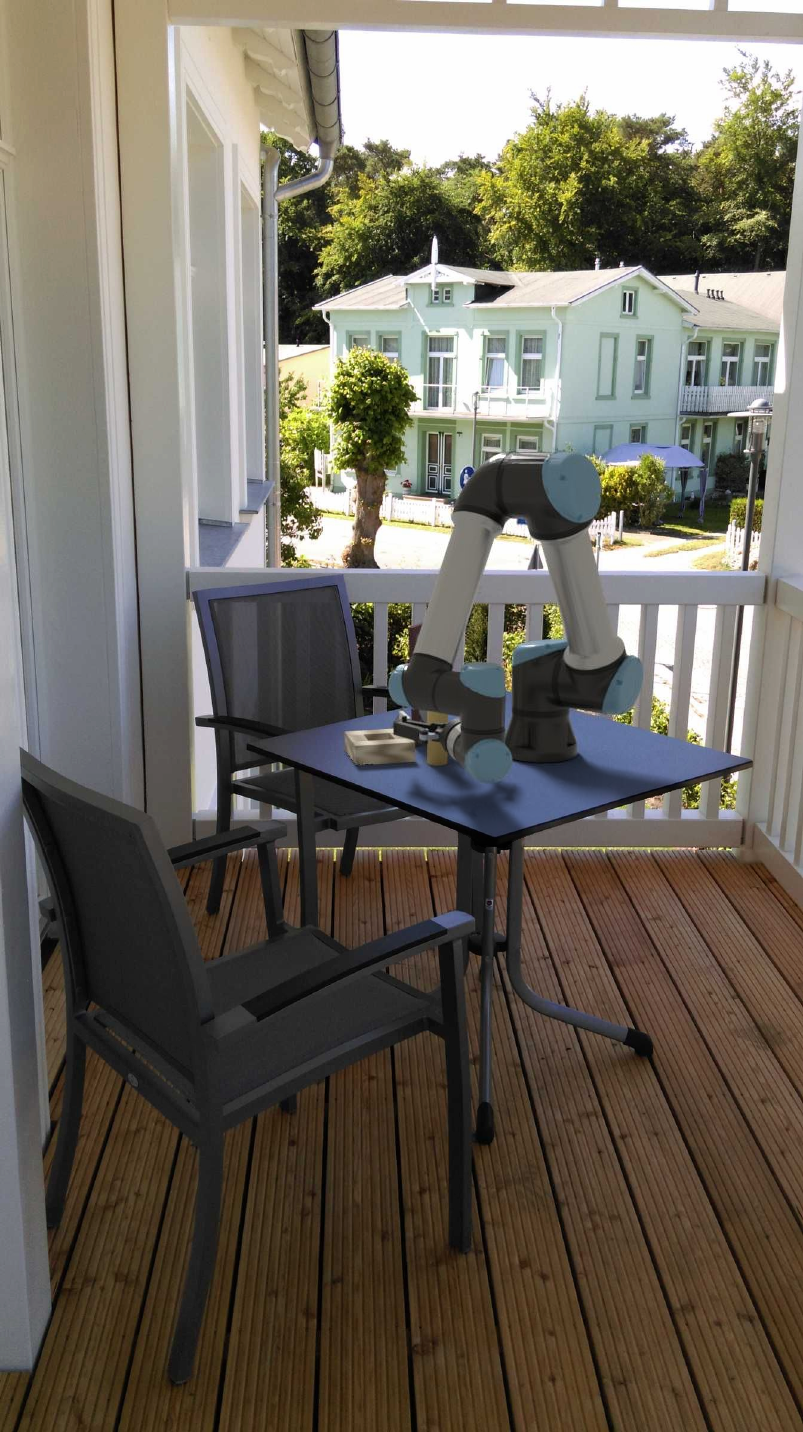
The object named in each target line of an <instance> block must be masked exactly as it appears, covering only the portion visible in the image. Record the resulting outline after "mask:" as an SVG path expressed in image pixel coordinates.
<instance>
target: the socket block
mask: <svg viewBox="0 0 803 1432" xmlns="http://www.w3.org/2000/svg"><path fill="white" fill-rule="evenodd" d="M344 751H345V753H346V752H347V753H348V754H347V753H346V754H347V756H348V755H349V756H350V757H349V756H348V757H349V759H350V760H351V759H352V760H353V761H352V760H351V761H352V763H353V762H354V763H355V764H356V765H357V764H360V765H359V766H366V765H365V764H369V765H370V764H373V765H386V764H400V763H416V746H415V742H414V741H413V740H411V739H407V738H404V737H400V736H397V735H394V734H393V729H391V728H384V729H368V730H366V729H365V730H364V729H363V730H348V731H344ZM354 763H353V764H354ZM355 764H354V765H355ZM362 764H363V765H362ZM356 765H355V766H356ZM369 765H368V766H369Z"/></svg>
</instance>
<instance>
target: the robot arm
mask: <svg viewBox="0 0 803 1432" xmlns="http://www.w3.org/2000/svg"><path fill="white" fill-rule="evenodd" d="M600 494H602V483H601V478H600V475H599V472H598V469H597V467H596V466H595V464H594V463H593V461H592V460H591V459H589V457H588V456H586V455H584V454H582V453H579V452H571V451H566V450H554V451H515V450H514V451H512V450H511V451H503V452H500V453H498V454H495V455H493V456H492V457H490V458H488V459H487V460H486V461H483V463H482V464H481V465H480V466H479V467H478V468H476V470H474V472H473V473H472V474H471V475H470V477H469V478H468V480H466V483H465V484H464V486H463V488H462V489H461V491H460V492H459V494H458V496H457V499H456V500H455V503H454V507H453V509H452V513H451V516H450V520H451V521H452V523H453V529H452V531H451V535H450V538H449V541H448V544H447V547H446V550H445V553H444V556H443V559H442V563H441V566H440V569H439V571H438V575H437V578H436V581H435V584H434V586H433V587H434V588H433V590H432V594H431V596H430V599H429V603H428V606H427V609H426V611H425V615H424V618H423V621H422V622H423V624H422V627H421V630H420V633H419V636H418V639H417V643H416V646H415V649H414V652H413V654H412V657H411V660H410V663H402V664H399V665H397V666H396V667H395V669H394V671H392V672H391V674H390V676H389V681H388V692H389V695H390V697H391V699H392V701H393V702H394V703H396V705H398V706H405V707H406V708H409V709H411V708H412V709H414V710H424V711H431V712H437V713H443V714H447V715H448V716H455V717H456V718H453V719H451V720H449V721H448V722H447V723H440V722H434V723H432V724H430V723H424V722H418V721H412V718H411V717H410V716H409V715H408V714H407V713H406V712H405V711H404V710H403V711H400V710H399V711H398V714H399V718H398V720H397V721H395V720H394V721H393V722H392V725H393V734H394V735H397V736H400V737H404V738H407V739H411V740H414V741H418V742H419V743H421V745H425V746H427V744H428V740H432V741H435V742H440V743H441V745H442V747H443V749H444V750H445V752H446V753H447V754H448V755H449V756H450V757H451V758H452V759H453V760H454V761H455V762H457V764H459V766H461V767H462V768H463V770H465V771H466V773H467V774H468V775H469V776H470V777H471V778H473V779H475V780H477V781H479V782H481V783H482V784H483V783H484V784H489V785H490V784H495V783H498V782H500V781H502V780H504V779H505V777H506V776H508V774H509V773H510V771H511V769H512V765H513V760H516V761H522V762H528V763H559V762H563V761H569V760H571V759H574V758H575V757H577V756H578V741H577V737H576V735H575V731H574V728H573V726H572V721H571V718H570V709H571V710H572V709H573V710H577V711H578V710H579V711H580V710H581V711H585V712H590V713H596V714H603V715H605V716H608V715H615V716H622V715H625V714H627V713H628V712H629V711H631V709H632V708H633V707H634V705H635V704H636V701H637V700H638V697H639V696H640V693H641V690H642V686H643V680H644V667H643V666H644V665H643V662H642V660H641V658H639V657H637V656H635V655H634V654H630V655H628V653H627V651H626V647H625V642H624V641H623V639H622V638H621V637H620V636H619V635H617V634H614V632H613V631H614V630H613V627H612V622H611V619H610V618H611V617H610V614H609V610H608V608H607V607H608V606H607V603H606V598H605V594H604V590H603V585H602V582H601V578H600V574H599V570H598V565H597V562H596V557H595V553H594V550H593V549H594V548H593V544H592V539H591V536H590V532H589V528H590V527H591V526H592V525H593V523H594V520H595V515H597V513H598V511H599V508H600V506H601V501H602V498H601V496H600ZM511 519H515V520H524V521H525V522H526V526H527V529H528V532H529V536H530V537H531V538H532V539H533V540H534V541H537V542H540V544H541V548H542V551H543V555H544V559H545V563H546V567H547V571H548V574H549V578H550V582H551V585H552V588H553V592H554V597H555V600H556V603H557V604H556V605H557V607H558V611H559V614H560V619H561V623H562V627H563V629H564V630H563V631H564V633H565V637H566V638H553V639H551V638H550V639H539V640H531V641H527V642H522V643H518V644H517V645H516V646H515V647H514V649H513V651H512V659H511V666H510V667H511V715H510V718H509V722H508V725H507V727H506V701H507V700H506V696H507V688H506V671H505V668H504V667H503V666H502V665H501V664H498V663H497V662H496V663H495V662H491V661H490V662H488V661H487V662H485V661H484V662H483V661H473V662H466V663H464V664H463V665H462V666H461V667H460V671H455V670H453V669H454V665H455V662H456V659H457V656H458V653H459V650H460V647H461V645H462V640H463V637H464V635H465V633H466V632H465V631H466V629H467V625H468V622H469V618H470V615H471V613H472V611H473V610H472V609H473V606H474V603H475V599H476V598H477V594H478V591H479V588H480V583H481V581H482V578H483V576H484V572H485V569H486V566H487V562H488V559H489V556H490V553H491V551H492V550H491V549H492V548H493V547H492V546H493V544H494V540H495V539H496V538H498V537H499V536H501V535H502V534H503V532H504V527H505V525H506V524H507V522H508V521H509V520H511ZM405 707H404V708H405ZM438 727H440V728H438Z"/></svg>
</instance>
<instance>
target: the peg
mask: <svg viewBox="0 0 803 1432" xmlns="http://www.w3.org/2000/svg"><path fill="white" fill-rule="evenodd" d="M434 722H440V723H447V722H449V715H447V714H443V713H437V712H431V711H428V713H427V723H430V724H432V723H434ZM438 728H440V727H438ZM426 747H427V748H426V750H427V751H426V763H427V765H430V766H436V767H438V766H439V767H440V766H446V765H448V757H449V756H448V755H449V754H447V753H446V752H445V750H444V749H443V747H442V745H441V743H440V742H435V741H432V740H428V744H426Z"/></svg>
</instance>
